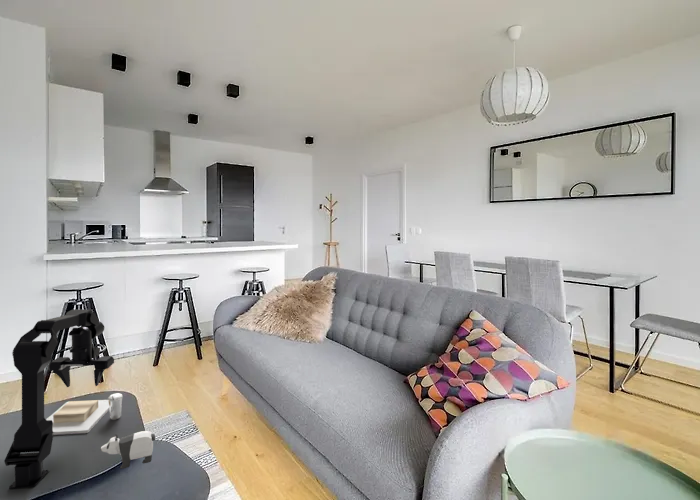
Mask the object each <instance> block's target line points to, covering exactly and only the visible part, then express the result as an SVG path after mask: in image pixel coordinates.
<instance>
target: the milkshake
mask: <svg viewBox="0 0 700 500" xmlns="http://www.w3.org/2000/svg"><path fill="white" fill-rule="evenodd" d="M107 400H108V402H109V410H108V411H109V418H110V420H112V421H115V420H118V419H120V418H121V417H122V405H123V404H122V402H123V394H122V393H120V392H116V393H112V394H110V395H109V396H108V397H107Z"/></svg>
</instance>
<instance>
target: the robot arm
mask: <svg viewBox="0 0 700 500" xmlns="http://www.w3.org/2000/svg"><path fill="white" fill-rule="evenodd" d="M70 328H72V329H71V330H70V331H69V333H68V336H71V348H70V349H69V353H70V354H71V358H70V357H69V356H67V357H65V356H63V357H56V358H54V360H52V358H53V354H54V351H55V350H56V347H57V345H58V344H59V342H58V337H57V335H58V332H59V331H62V330H63V331H64V330H66V329H70ZM104 331H105V325H104V323H102V322H101V321H100V320H99V317H97V315H96V313H95V312H94V310H93V309H71V310H69V311H67V312H66V313H65V314H64V315H61V316H58V317H57V316H56V317H53V318H49V319H41V320H38V321H37V322H36V323H35V325H34V326H33V328H31V329H30V330H29V331H27V332H26V333H24V334H23V335H22V336H21V337H20V338H19V340H18V342H17V343H16V345H15V346H14V348H13V350H12V352H11V354H12V358H13V360H12V361H13V366H14V367H15V368H16V370H17V371H18V372H19V373H20V375H21V424H20V426H19V427H18V429H17V430H16V432H15V433H14V435H13V441H12V443H11V445H10V448H9V450H8V452H7V454H6V456H5V458H4V464H5V466H6V467H9V466H14V481H13V482H11V484H10V485H9V486H8V489H10V490H11V489H12V490H13V489H23V488H34V487H36V486H37V485H38V484H39V483H40V481H42V480H43V478H44V477H45V476H47V475H48V473H49V472H50V471H49V469H44V460H45V459H46V458H48V457H49V455H51V451H52V446H53V441H54V440H53V439H54V437H53V436H54V435H52V434H53V429H52V427H53V422H52V420H46V419H47V418H45V369H46V368H47V369H48V371H49V372H52V373H54V374H56V375H57V376H58V377H59V378H60V380H61V381H62V382H63V384H64V385H65V386H66V388H70V386H71V373H70V370H71V367H78V366H79V367H88V366H90V367H91V366H94V368H95V369H94V370H93V377H94V386H95V387H97V386H99V383H100V381H101V379H102V376H103V373H104V372H105V370H107V369H109V368H110V367H111V366H112V365H114V364H115V358H114V357H113V355H112V356H111V355H109V356H108V355H106V356H105V355H103V356H101V357H99V356H100V352H101V347H95V345H94V343H92V342H93V341H92V340H93V339H95V338H97V337H98V336H100V335H101V334H102V333H104ZM41 334H50V338H49V340H36V339H37V338H39V337H40V336H41ZM96 357H99V358H97V359H95V358H96ZM47 366H48V367H47Z"/></svg>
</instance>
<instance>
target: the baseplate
mask: <svg viewBox="0 0 700 500" xmlns="http://www.w3.org/2000/svg"><path fill="white" fill-rule="evenodd" d="M97 400H98V408H97V409H96V410H95V411H94V412H93V413H92V414H91V415H90V416H89V417H88V418H87V419H86V420H85V421H83V422H64V423H54V419H53V415H54V414H55V413H56V412H58V411H59V410H60V409H61V408H62V407H64V406H65V405H66V404H67V403H68V402H69V401H66V402H65V403H64V404H63V405H62V406H60V407H59V408H58V409H57V410H56V411H54V412H53V413H52V414H50V416H48V417H47V418H45V419H46V420H52V422H53V427H52V429H53V434H52V435H53V436H56V435H74V434H89V432H90V431H91V430H92V429H93V428H94V427H95V426H96V425H97V424H98V422H99V421H100V420H101V419H102V418H104V416H105V415H106V414H107V413H108V412H109V411H110V410H109V402H108V399H97Z"/></svg>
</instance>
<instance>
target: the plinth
mask: <svg viewBox="0 0 700 500" xmlns="http://www.w3.org/2000/svg"><path fill="white" fill-rule="evenodd" d="M98 400H99V399H95V400H94V399H93V400H92V399H91V400H70V401H69V402H68V401H67V402H68V403H67V404H66V405H65V406H64V407H62V406H61V407H62V408H61V409H60V410H59V411H58V412H56V411H55V412H56V413H55V414H54V415H53V419H54V423H64V422H83V421H85V420H86V419H87V418H88V417H89V416H90V415H91V414H92V413H93V412H94V411H95V410H96V409H97V408H98Z"/></svg>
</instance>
